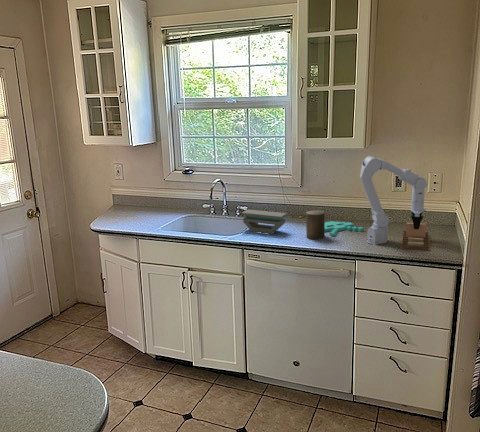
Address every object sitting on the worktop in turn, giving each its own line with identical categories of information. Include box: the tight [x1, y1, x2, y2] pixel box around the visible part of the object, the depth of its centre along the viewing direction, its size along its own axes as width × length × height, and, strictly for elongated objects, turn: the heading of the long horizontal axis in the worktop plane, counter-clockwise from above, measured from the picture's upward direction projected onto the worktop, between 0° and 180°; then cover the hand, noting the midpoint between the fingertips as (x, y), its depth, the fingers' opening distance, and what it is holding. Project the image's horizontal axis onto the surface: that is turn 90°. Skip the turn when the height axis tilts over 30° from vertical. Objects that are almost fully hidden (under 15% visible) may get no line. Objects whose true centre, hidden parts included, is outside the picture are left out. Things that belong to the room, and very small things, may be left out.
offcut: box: [408, 237, 423, 242], centre depth 219 cm, size 2×7×3 cm, turn 69°
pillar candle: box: [305, 209, 326, 240], centre depth 238 cm, size 10×10×15 cm
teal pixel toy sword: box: [325, 220, 364, 238], centre depth 251 cm, size 20×2×20 cm
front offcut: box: [408, 242, 424, 246], centre depth 214 cm, size 2×7×3 cm, turn 69°
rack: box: [400, 230, 431, 252], centre depth 222 cm, size 26×13×3 cm, turn 159°
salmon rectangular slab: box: [405, 222, 427, 238], centre depth 224 cm, size 2×9×8 cm, turn 69°
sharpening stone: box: [240, 209, 288, 235], centre depth 253 cm, size 25×8×11 cm, turn 60°
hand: (416, 226), depth 224 cm, fingers open, 7 cm apart
